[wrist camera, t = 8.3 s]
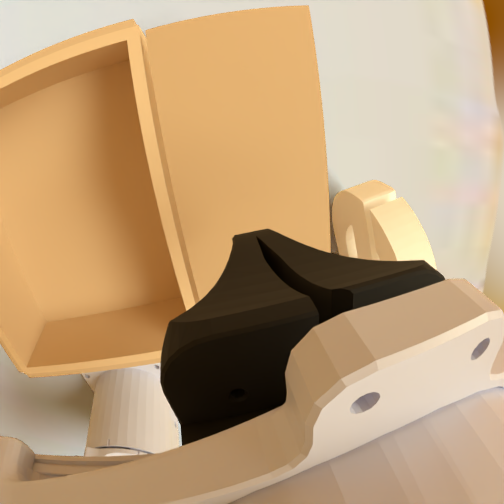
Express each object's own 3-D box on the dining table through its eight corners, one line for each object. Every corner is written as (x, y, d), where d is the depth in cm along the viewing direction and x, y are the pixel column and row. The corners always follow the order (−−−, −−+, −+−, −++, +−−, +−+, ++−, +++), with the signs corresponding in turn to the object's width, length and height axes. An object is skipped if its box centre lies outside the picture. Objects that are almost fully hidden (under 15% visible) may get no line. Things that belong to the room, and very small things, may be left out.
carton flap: (212, 345, 19) (213, 340, 19) (330, 334, 18) (328, 329, 19) (145, 30, 11) (149, 32, 11) (308, 5, 10) (306, 8, 11)
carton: (203, 300, 25) (209, 353, 19) (44, 328, 23) (23, 377, 18) (151, 41, 16) (137, 17, 11) (-30, 113, 14) (-81, 123, 9)
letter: (375, 360, 33) (419, 427, 24) (357, 368, 32) (399, 438, 24) (347, 165, 22) (438, 212, 13) (320, 175, 22) (403, 227, 13)
